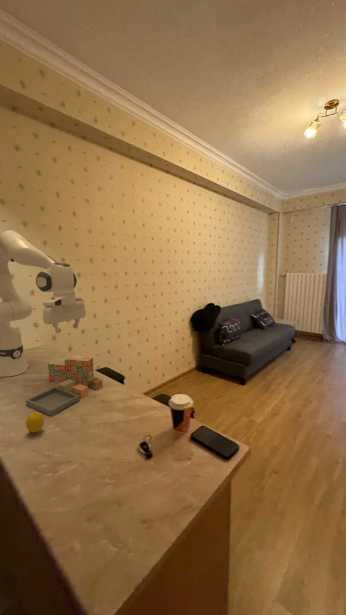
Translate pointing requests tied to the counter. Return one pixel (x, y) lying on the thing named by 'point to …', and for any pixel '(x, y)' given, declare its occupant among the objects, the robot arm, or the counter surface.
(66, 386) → the sage brick
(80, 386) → the terracotta brick
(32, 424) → the lemon
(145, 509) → the counter surface
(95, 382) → the walnut brick
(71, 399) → the charcoal tray
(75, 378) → the stack of blocks
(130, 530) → the counter surface
